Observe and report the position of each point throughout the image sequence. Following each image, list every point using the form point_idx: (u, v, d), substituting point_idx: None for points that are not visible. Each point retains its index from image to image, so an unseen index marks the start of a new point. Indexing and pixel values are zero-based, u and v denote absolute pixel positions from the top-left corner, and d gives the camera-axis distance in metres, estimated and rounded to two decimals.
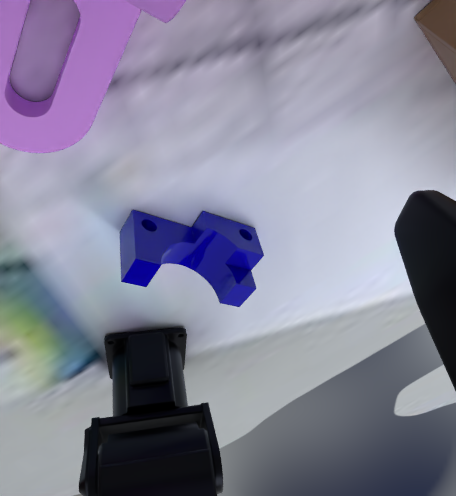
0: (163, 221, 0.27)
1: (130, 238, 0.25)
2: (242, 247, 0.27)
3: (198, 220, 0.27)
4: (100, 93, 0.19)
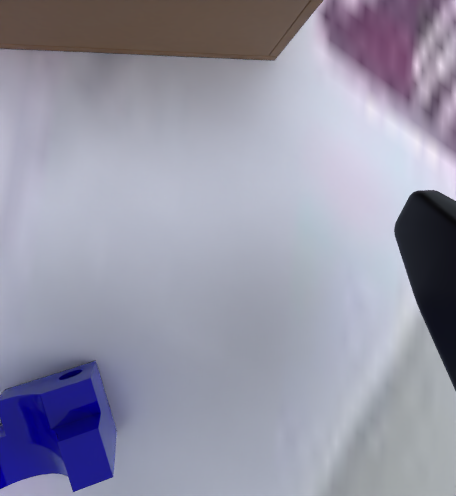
0: None
1: None
2: (50, 389, 0.18)
3: None
4: None
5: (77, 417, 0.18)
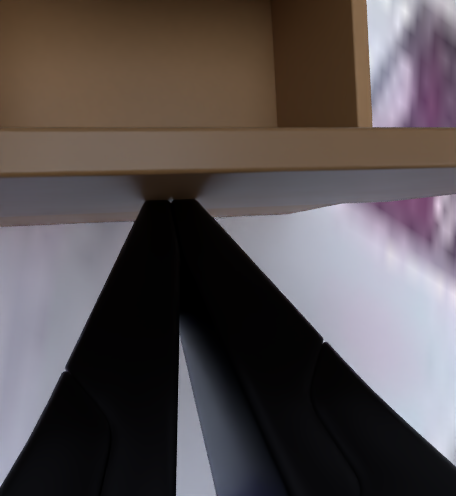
0: None
1: None
2: None
3: None
4: None
5: None
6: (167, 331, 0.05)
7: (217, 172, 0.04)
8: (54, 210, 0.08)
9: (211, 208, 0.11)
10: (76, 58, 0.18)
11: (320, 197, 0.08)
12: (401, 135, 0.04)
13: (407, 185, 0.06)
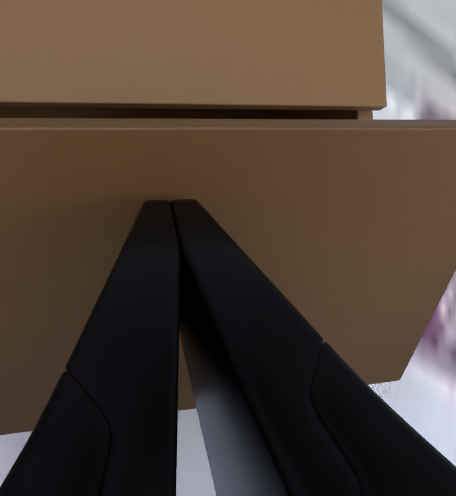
0: None
1: None
2: None
3: None
4: None
5: None
6: (167, 331, 0.05)
7: (177, 129, 0.07)
8: None
9: None
10: None
11: (303, 309, 0.10)
12: (284, 120, 0.07)
13: (342, 224, 0.08)
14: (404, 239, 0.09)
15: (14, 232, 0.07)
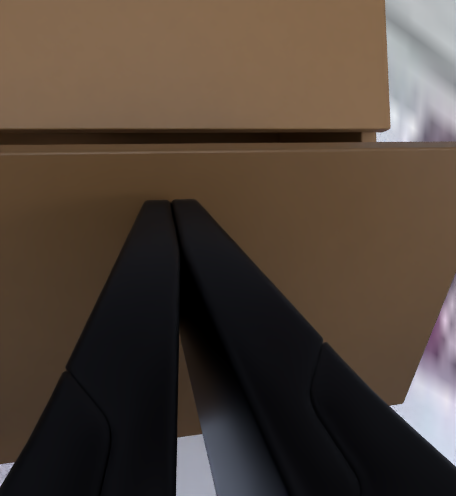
0: None
1: None
2: None
3: None
4: None
5: None
6: (167, 331, 0.05)
7: (175, 152, 0.07)
8: None
9: None
10: None
11: None
12: (275, 143, 0.08)
13: (335, 242, 0.09)
14: (396, 257, 0.09)
15: (21, 253, 0.07)
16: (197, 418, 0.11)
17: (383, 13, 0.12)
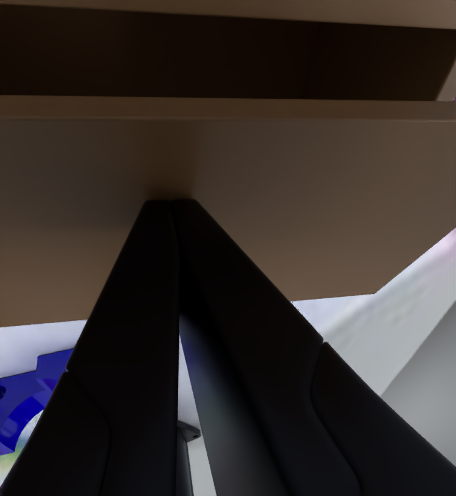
0: (16, 378, 0.28)
1: None
2: None
3: None
4: None
5: None
6: (167, 331, 0.05)
7: (185, 120, 0.06)
8: (68, 290, 0.10)
9: None
10: None
11: (297, 253, 0.10)
12: (312, 102, 0.06)
13: (353, 196, 0.08)
14: (413, 207, 0.09)
15: (2, 203, 0.06)
16: None
17: None
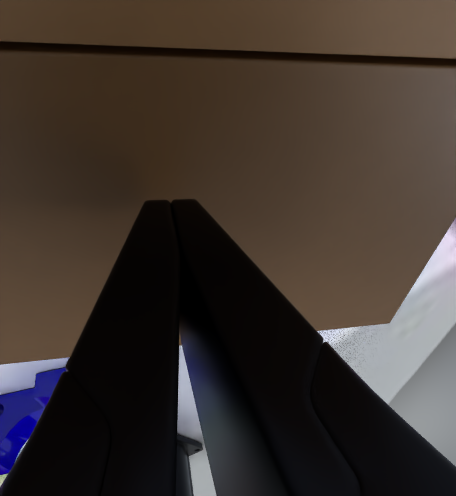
0: (14, 395, 0.27)
1: None
2: None
3: None
4: None
5: None
6: (167, 331, 0.05)
7: (176, 59, 0.06)
8: (66, 303, 0.09)
9: None
10: None
11: (300, 252, 0.10)
12: (291, 52, 0.07)
13: (344, 167, 0.08)
14: (407, 185, 0.09)
15: (5, 166, 0.07)
16: None
17: None
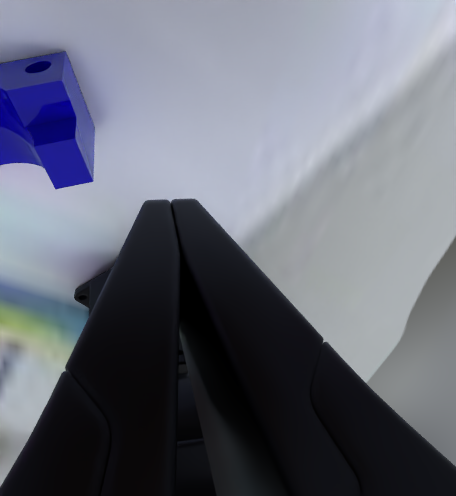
0: None
1: None
2: (17, 86, 0.16)
3: None
4: None
5: (51, 119, 0.17)
6: (167, 331, 0.05)
7: None
8: None
9: None
10: None
11: None
12: None
13: None
14: None
15: None
16: None
17: None
